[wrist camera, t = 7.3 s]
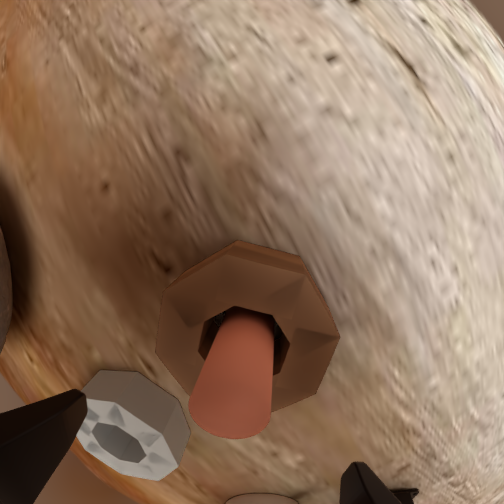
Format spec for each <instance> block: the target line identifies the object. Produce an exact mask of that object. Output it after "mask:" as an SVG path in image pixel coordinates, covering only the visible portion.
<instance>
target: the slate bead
mask: <svg viewBox="0 0 504 504" xmlns="http://www.w3.org/2000/svg"><path fill="white" fill-rule="evenodd" d="M81 392H83V393H85V395H86V399H87V407H88V412H87V416H86V418H85V419H84V421H83V423H82V425H81V427H80V429H79V431H78V433H77V435H76V436H77V438H78V439H79V441H80V442H81V444H82V445H83V447H84V448H85V450H87V451H88V452H89V453H91V454H92V455H94V456H95V457H96V458H98V459H99V460H101V461H102V462H104V463H105V464H107V465H108V466H110V467H111V468H113V469H114V470H116V471H117V472H119V473H121V474H124V475H129V476H134V477H139V478H144V479H150V480H156V481H159V480H161V479H162V478H164V477H165V476H166V475H168V474H169V473H170V472H172V471H173V470H174V469H176V468H177V467H179V464H180V461H181V458H182V456H183V453H184V450H185V447H186V445H187V442H188V439H189V436H190V434H191V432H190V429H189V427H188V424H187V421H186V419H185V416H184V414H183V411H182V408H181V406H180V403H179V400H178V399H176V398H175V397H173V396H172V395H170V394H169V393H167V392H166V391H164V390H163V389H161V388H160V387H158V386H157V385H156V384H154V383H153V382H151V381H150V380H149V379H147V378H146V377H144V376H143V375H142V374H140V373H139V372H128V371H109V370H100V371H99V372H98V373H97V374H96V375H95V376H94V377H93V378H92V379H91V380H90V381H89V382H88V383H87V385H86V386H85V387H84V388H83V389H82V390H81Z"/></svg>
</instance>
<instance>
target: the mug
mask: <svg viewBox="0 0 504 504" xmlns="http://www.w3.org/2000/svg"><path fill="white" fill-rule="evenodd" d="M225 504H298V503H297V502H296V501H295V500H293V499H291V498H288V497H285V496H281V495H275V494H265V493H254V494H244V495H239V496H236V497H233V498H231V499H230V500H228V501H227V502H226V503H225Z"/></svg>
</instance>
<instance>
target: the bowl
mask: <svg viewBox="0 0 504 504" xmlns="http://www.w3.org/2000/svg"><path fill="white" fill-rule="evenodd" d="M12 307H13V296H12V278H11V266H10V262H9V258H8V254H7V249H6V245H5V241H4V237H3V233H2V230H1V227H0V353H1V351H2V349H3V346H4V343H5V341H6V335H7V332H8V329H9V325H10V321H11V317H12Z"/></svg>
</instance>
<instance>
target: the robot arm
mask: <svg viewBox="0 0 504 504" xmlns="http://www.w3.org/2000/svg"><path fill="white" fill-rule="evenodd" d="M87 412H88V407H87V399H86V395H85V393H83V392H81V391H79V390H77V389H72V390H69V391H66V392H64V393H61V394H58V395H55V396H52V397H49V398H47V399H44V400H41V401H38V402H35V403H32V404H29V405H26V406H23V407H20V408H16V409H14V410H10V411H7V412H4V413H0V504H33V503H34V502H35V500H36V498H37V497H38V495H39V494H40V492H41V491H42V489H43V488H44V486H45V485H46V483H47V481H48V480H49V478H50V477H51V475H52V474H53V472H54V471H55V469H56V468H57V466H58V465H59V463H60V462H61V460H62V459H63V457H64V456H65V455H66V453H67V451H68V450H69V448H70V447H71V445H72V443H73V441H74V439H75V437H76V435H77V433H78V431H79V429H80V427H81V425H82V423H83V421H84V419H85V418H86V416H87ZM418 493H419V491H418V489H415V490H406V491H395V492H391V491H390V490H389V489H388V488H387V487H386V486H385V485H384V483H383V482H382V481H381V480H380V479H379V478H378V477H377V476H376V474H375V473H374V472H373V471H372V470H371V469H370V468H369V467H368V465H367V464H366V463H364V462H353V463H351V464H350V466H349V467H348V468H347V470H346V471H345V472H344V473H343V475H342V477H341V486H340V504H414V503H413V500H412V499H413V498H414V497H415V496H416V495H417V494H418Z"/></svg>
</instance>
